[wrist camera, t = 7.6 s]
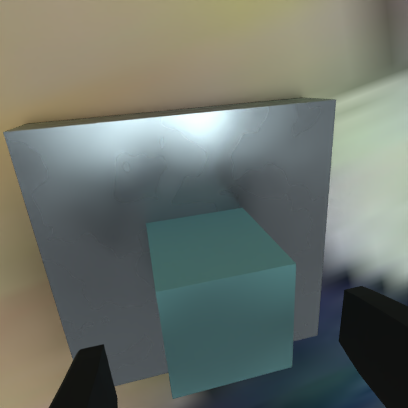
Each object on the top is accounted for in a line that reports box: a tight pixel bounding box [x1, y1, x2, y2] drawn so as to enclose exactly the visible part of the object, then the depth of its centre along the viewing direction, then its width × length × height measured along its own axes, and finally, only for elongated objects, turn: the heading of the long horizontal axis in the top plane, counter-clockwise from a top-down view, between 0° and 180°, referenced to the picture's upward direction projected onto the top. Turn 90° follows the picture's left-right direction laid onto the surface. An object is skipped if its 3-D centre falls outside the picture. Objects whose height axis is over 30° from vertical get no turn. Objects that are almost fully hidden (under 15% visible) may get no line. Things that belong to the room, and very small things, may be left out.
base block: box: [3, 98, 336, 386], centre depth 14 cm, size 12×12×2 cm
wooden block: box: [146, 208, 296, 399], centre depth 11 cm, size 4×4×4 cm
